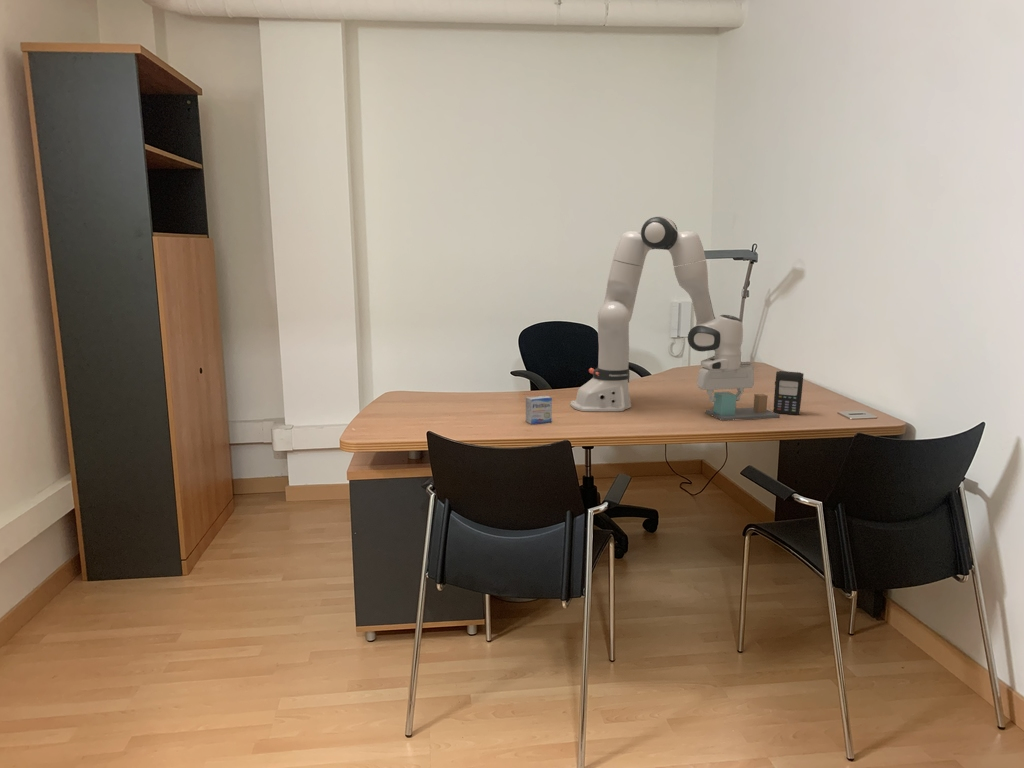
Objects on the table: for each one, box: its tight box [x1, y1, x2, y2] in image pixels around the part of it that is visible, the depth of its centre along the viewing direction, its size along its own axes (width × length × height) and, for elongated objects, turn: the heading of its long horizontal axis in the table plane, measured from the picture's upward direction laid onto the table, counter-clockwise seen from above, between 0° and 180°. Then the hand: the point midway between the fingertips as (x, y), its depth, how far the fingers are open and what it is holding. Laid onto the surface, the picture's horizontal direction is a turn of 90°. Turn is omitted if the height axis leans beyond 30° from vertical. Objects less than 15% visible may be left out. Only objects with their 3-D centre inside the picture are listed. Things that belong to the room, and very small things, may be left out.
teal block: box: [713, 391, 737, 416], centre depth 252 cm, size 5×5×7 cm
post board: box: [704, 393, 780, 421], centre depth 254 cm, size 22×12×7 cm, turn 103°
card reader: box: [773, 370, 805, 416], centre depth 256 cm, size 9×4×15 cm, turn 66°
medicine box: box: [525, 395, 553, 425], centre depth 243 cm, size 8×4×9 cm, turn 114°
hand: (724, 401), depth 252 cm, fingers open, 8 cm apart
